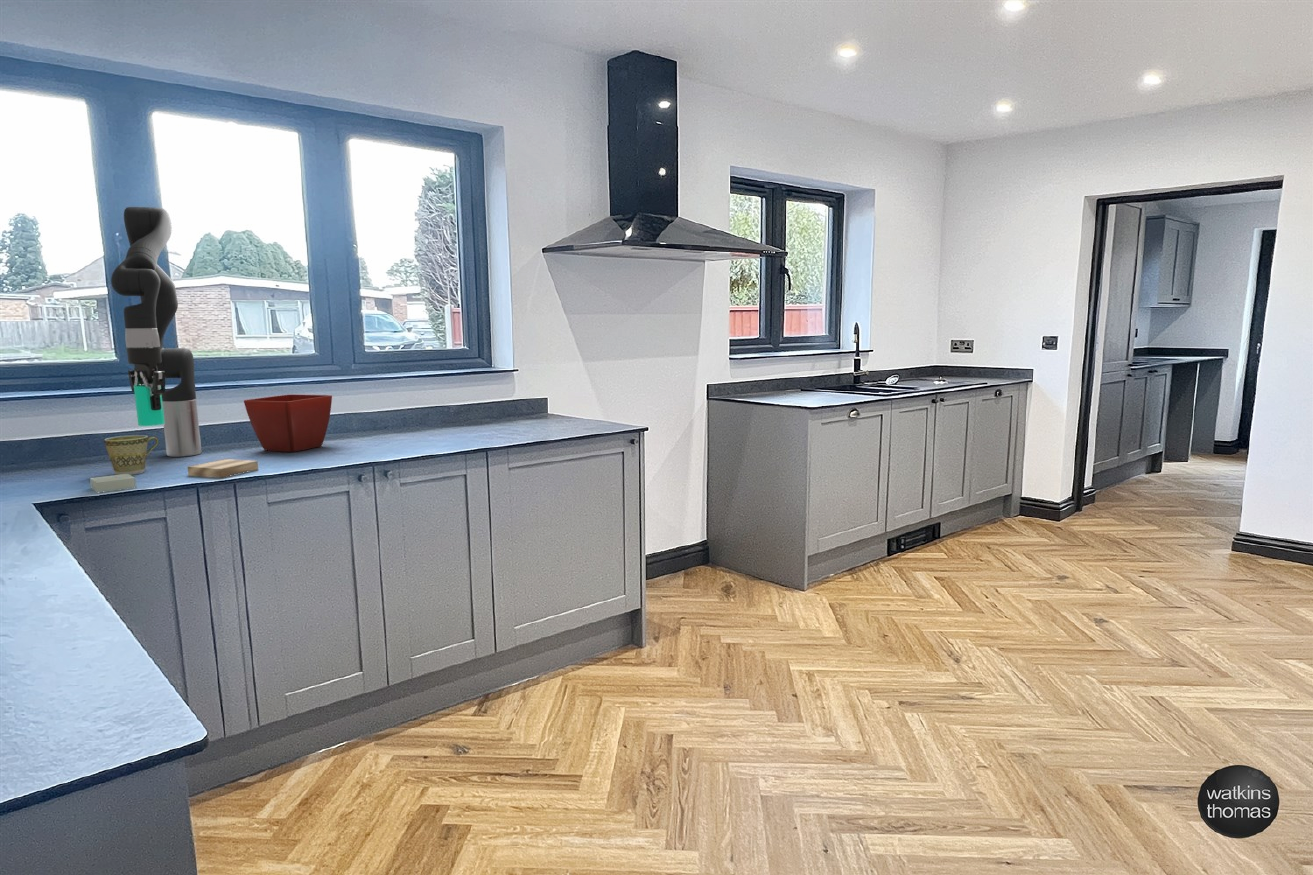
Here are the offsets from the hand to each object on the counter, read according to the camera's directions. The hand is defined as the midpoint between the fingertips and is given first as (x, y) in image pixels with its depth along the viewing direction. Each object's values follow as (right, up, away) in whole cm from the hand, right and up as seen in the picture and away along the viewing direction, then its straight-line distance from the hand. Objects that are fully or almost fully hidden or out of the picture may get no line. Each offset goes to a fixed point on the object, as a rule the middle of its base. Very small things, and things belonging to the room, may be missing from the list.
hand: (150, 409), depth 208 cm
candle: (0, -4, +1) cm, 4 cm away
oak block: (+16, -18, +7) cm, 25 cm away
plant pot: (+16, -11, +46) cm, 51 cm away
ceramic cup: (-10, -17, +9) cm, 22 cm away
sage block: (-2, -21, -11) cm, 24 cm away
